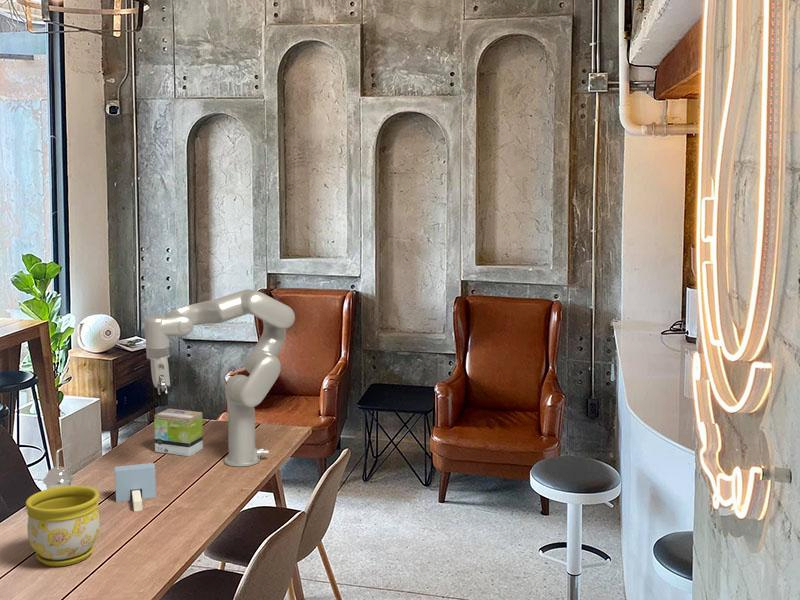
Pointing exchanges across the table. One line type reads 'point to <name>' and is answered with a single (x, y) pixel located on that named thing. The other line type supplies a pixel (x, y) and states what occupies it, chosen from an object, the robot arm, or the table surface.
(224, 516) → the table surface
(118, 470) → the grey-blue plate
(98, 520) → the flowerpot
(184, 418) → the tea box
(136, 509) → the rail
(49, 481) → the cup with straw
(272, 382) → the robot arm
